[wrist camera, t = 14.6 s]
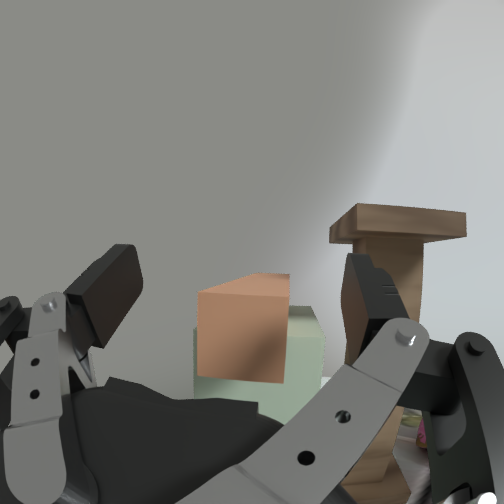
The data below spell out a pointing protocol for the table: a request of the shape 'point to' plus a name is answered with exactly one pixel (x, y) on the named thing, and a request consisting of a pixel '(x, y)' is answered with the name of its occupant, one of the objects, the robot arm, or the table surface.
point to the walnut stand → (410, 290)
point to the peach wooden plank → (244, 329)
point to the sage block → (295, 377)
